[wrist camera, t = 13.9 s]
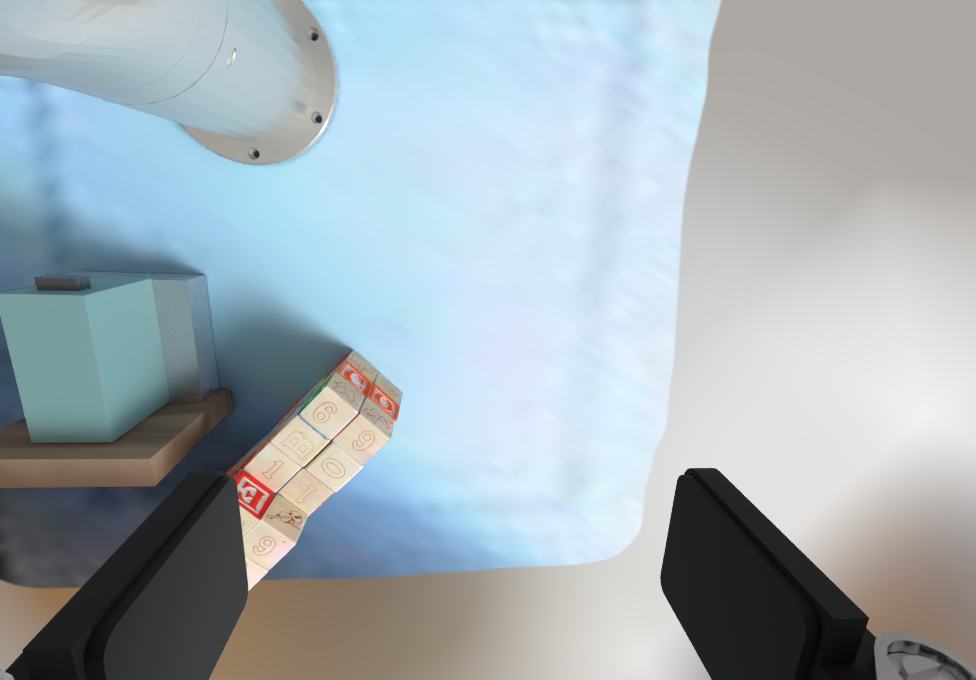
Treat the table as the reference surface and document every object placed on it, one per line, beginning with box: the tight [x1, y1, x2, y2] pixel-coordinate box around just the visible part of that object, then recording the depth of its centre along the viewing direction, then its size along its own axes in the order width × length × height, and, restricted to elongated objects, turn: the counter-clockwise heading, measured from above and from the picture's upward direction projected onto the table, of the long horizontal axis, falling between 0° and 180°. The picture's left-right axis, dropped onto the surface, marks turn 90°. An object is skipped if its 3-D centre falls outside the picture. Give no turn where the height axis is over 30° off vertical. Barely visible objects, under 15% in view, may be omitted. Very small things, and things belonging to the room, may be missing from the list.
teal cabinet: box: [0, 275, 170, 443], centre depth 34 cm, size 11×5×7 cm, turn 177°
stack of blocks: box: [226, 350, 402, 591], centre depth 38 cm, size 21×6×12 cm, turn 133°
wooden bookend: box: [0, 271, 233, 488], centre depth 34 cm, size 12×12×12 cm
